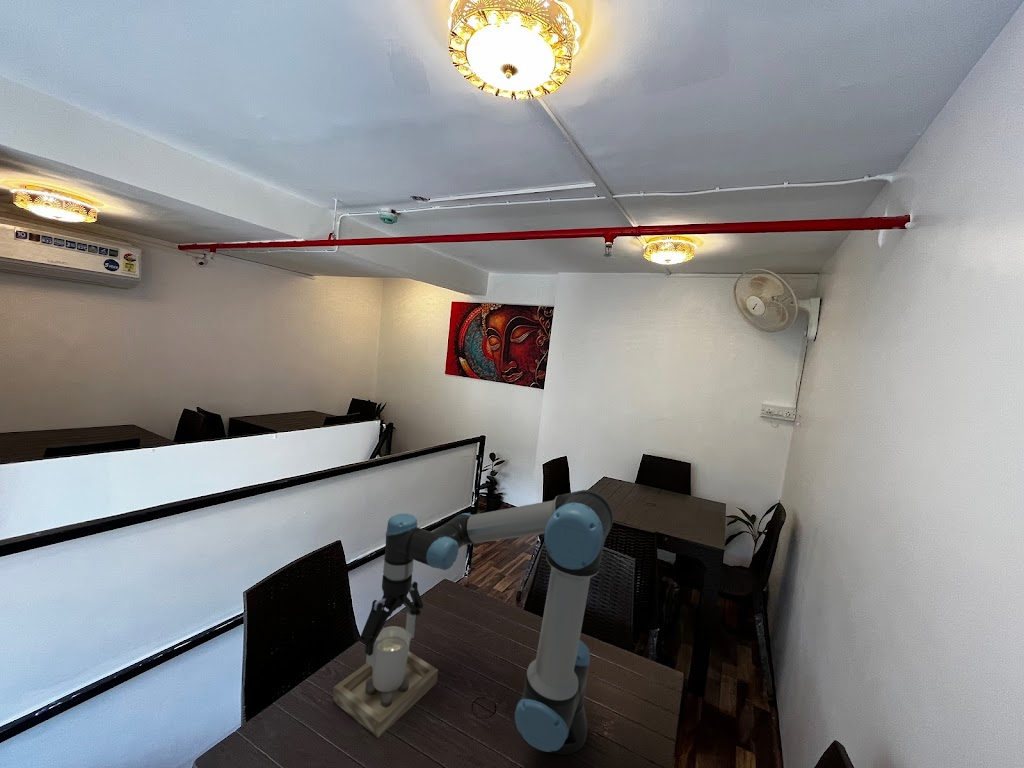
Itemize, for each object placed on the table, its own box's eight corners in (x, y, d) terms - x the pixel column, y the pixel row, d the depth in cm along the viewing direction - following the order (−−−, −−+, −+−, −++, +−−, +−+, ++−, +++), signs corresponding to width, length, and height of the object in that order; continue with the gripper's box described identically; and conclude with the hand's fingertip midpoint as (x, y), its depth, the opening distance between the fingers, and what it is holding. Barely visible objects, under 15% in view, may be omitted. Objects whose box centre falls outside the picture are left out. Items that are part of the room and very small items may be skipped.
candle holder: (396, 699, 108) (400, 655, 107) (361, 689, 110) (365, 646, 109) (412, 671, 118) (416, 630, 116) (380, 662, 119) (384, 622, 118)
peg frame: (436, 683, 118) (438, 669, 118) (378, 738, 100) (379, 722, 100) (393, 654, 127) (395, 642, 127) (332, 701, 109) (334, 686, 109)
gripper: (420, 551, 124) (414, 620, 125) (348, 588, 102) (341, 670, 104) (439, 560, 120) (433, 631, 121) (369, 601, 98) (362, 685, 100)
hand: (391, 649), depth 113 cm, fingers open, 13 cm apart
